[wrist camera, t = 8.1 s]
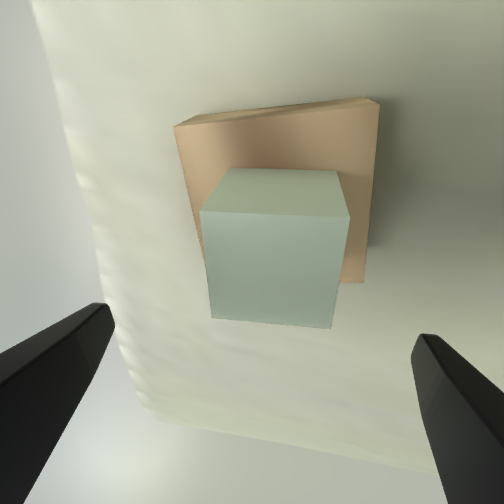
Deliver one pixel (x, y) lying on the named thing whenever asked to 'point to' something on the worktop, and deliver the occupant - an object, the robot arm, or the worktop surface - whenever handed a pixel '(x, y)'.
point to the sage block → (275, 245)
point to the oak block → (289, 156)
